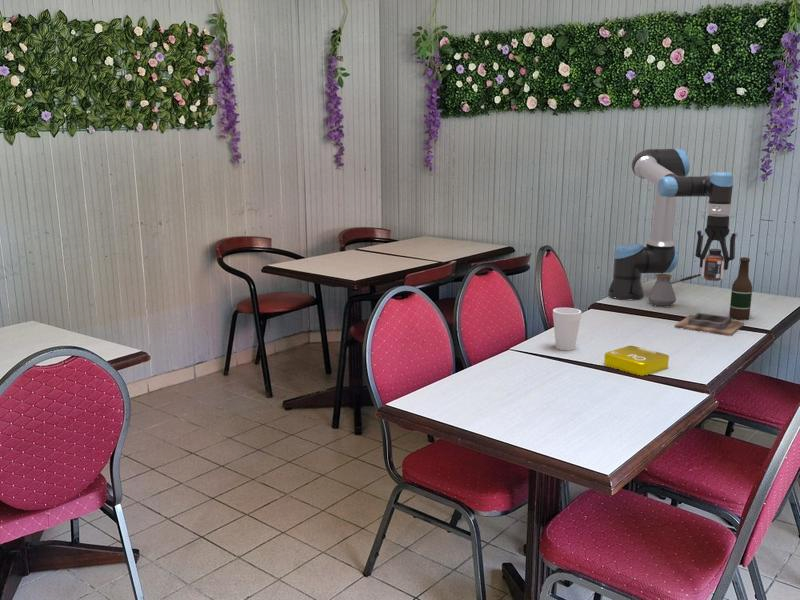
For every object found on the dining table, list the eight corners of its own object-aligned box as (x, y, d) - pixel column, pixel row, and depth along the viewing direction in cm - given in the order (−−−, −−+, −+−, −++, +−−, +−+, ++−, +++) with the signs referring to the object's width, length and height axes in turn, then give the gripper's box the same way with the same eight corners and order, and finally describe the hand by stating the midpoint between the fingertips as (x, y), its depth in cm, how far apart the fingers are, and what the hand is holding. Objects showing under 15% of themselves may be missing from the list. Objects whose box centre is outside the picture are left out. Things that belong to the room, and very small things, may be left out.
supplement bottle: (722, 281, 276) (725, 251, 274) (705, 280, 277) (708, 250, 275) (719, 278, 282) (722, 248, 279) (702, 277, 283) (705, 248, 281)
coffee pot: (643, 305, 317) (645, 270, 314) (652, 300, 326) (654, 266, 323) (695, 312, 305) (698, 276, 301) (703, 307, 314) (706, 272, 310)
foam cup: (579, 352, 250) (581, 314, 247) (551, 351, 252) (553, 313, 249) (578, 344, 259) (580, 308, 256) (551, 343, 261) (553, 307, 258)
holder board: (674, 327, 282) (675, 319, 281) (689, 317, 297) (690, 309, 297) (731, 336, 270) (732, 327, 269) (744, 324, 286) (744, 317, 285)
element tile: (670, 368, 235) (671, 353, 234) (642, 378, 226) (643, 362, 225) (629, 357, 246) (630, 343, 245) (601, 366, 237) (602, 351, 236)
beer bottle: (753, 320, 292) (759, 259, 287) (733, 320, 292) (739, 259, 287) (744, 315, 300) (750, 256, 294) (725, 315, 300) (730, 256, 295)
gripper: (688, 214, 277) (683, 276, 282) (743, 217, 266) (737, 281, 271) (694, 212, 283) (689, 273, 288) (748, 215, 272) (742, 278, 277)
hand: (712, 277), depth 279 cm, fingers closed on supplement bottle, 6 cm apart
